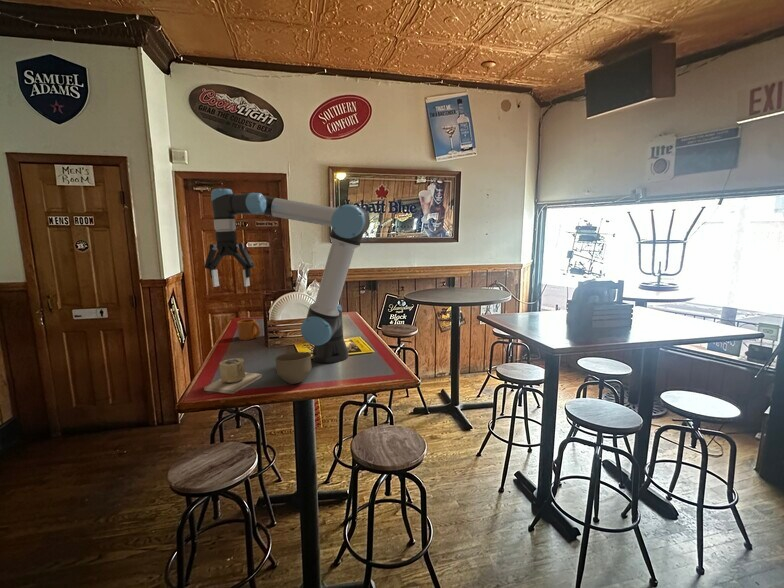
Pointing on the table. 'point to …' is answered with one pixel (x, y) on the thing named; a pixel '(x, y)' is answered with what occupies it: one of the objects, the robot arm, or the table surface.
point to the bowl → (293, 366)
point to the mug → (248, 329)
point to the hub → (232, 383)
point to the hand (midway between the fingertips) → (231, 286)
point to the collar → (232, 370)
